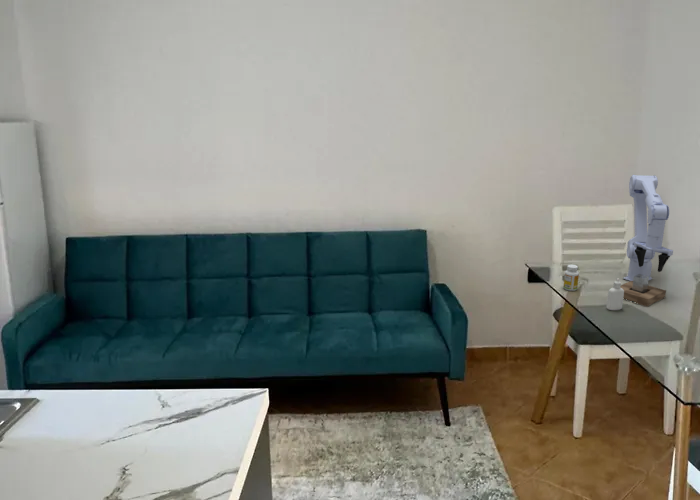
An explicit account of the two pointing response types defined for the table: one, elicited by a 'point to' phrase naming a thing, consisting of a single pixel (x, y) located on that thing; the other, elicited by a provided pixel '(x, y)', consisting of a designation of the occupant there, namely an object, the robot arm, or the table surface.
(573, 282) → the supplement bottle
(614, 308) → the eye dropper bottle
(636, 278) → the peg
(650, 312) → the table surface
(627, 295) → the socket block
